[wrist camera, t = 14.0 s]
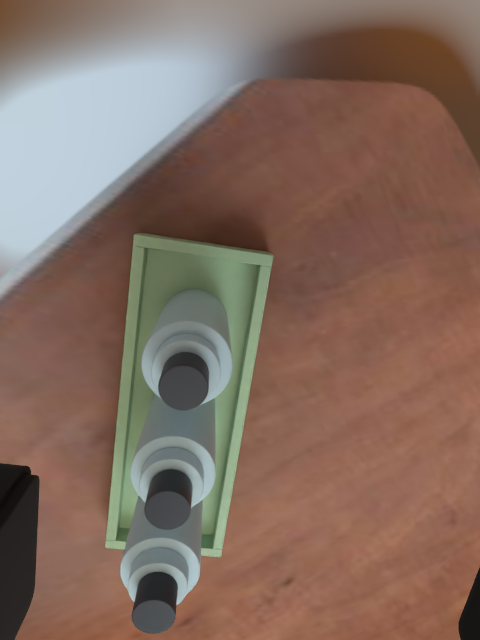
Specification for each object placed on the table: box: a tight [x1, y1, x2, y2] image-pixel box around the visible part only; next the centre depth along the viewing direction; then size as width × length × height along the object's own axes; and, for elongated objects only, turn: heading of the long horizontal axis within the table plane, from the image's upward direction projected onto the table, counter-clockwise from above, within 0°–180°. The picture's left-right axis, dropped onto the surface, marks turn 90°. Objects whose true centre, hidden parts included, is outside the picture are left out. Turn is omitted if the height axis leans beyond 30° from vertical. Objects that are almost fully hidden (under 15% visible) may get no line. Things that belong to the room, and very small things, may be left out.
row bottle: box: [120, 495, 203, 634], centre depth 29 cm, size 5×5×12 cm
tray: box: [105, 233, 273, 557], centre depth 33 cm, size 26×10×2 cm, turn 171°
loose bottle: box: [141, 289, 233, 411], centre depth 26 cm, size 5×5×12 cm
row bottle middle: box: [130, 393, 216, 530], centre depth 28 cm, size 5×5×12 cm
